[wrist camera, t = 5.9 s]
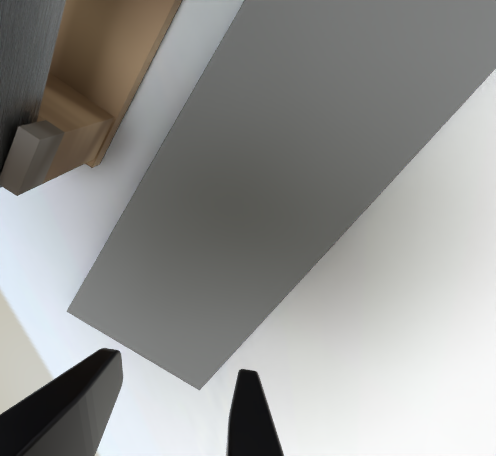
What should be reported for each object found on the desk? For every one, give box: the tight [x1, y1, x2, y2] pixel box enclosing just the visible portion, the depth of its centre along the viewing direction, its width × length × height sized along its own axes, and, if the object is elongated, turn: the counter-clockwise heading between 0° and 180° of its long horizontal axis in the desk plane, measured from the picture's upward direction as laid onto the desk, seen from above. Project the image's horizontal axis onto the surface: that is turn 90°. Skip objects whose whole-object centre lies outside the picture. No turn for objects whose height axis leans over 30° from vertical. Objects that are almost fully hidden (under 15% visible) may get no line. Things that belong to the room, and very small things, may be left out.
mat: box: [67, 0, 496, 390], centre depth 19 cm, size 10×26×1 cm, turn 146°
